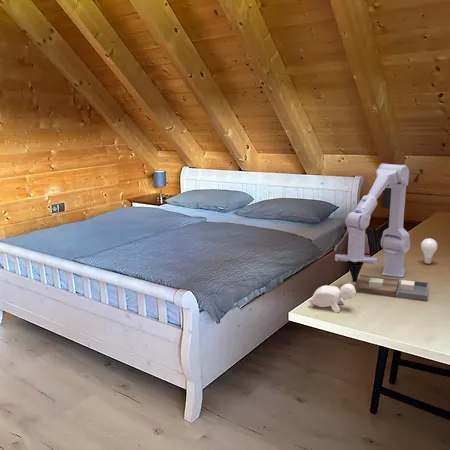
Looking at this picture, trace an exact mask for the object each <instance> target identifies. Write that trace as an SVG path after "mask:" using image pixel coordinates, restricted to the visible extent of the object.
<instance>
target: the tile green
mask: <svg viewBox="0 0 450 450" xmlns="http://www.w3.org/2000/svg"><path fill="white" fill-rule="evenodd" d="M383 283H384V279H379V278H370V280H369V287H374V288H382V287H383Z"/></svg>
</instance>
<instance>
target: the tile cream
mask: <svg viewBox="0 0 450 450" xmlns="http://www.w3.org/2000/svg"><path fill="white" fill-rule="evenodd" d="M406 280H407V279H402V280H400V282H401V284H400V289H403V290H411V291H414V284H415V281H416V280H411V281H406Z"/></svg>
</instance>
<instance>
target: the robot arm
mask: <svg viewBox="0 0 450 450" xmlns="http://www.w3.org/2000/svg"><path fill="white" fill-rule="evenodd" d="M375 173H376V178H375V181H374V182H373V185H371V188H370V190H369V192H368V194H366V195H362V198H361V199H360V201H359V202H358V203H357V205H356V207H355V208H354V210H353V211H350V212H349V213H348V214H347V215H346V219H345V226H346V231H347V233H348V241H347V242H348V243H347V254H338V253H337V254H335V255H334V261H336V262H339V261H340V262H347V268H348V270H349V272H350V275H351V279H352V283H357V281H358V279H359V276H360V275H359V274H360V272H361V270H362V267H363V265H364V264H370V265H371V264H372V265H374V266H377V263H378V258H376V257H371V256H365V247H366V245H365V244H366V242H365V241H366V229H367V228H368V227H369V225H370V222H371V221H370V220H371V217H372V216H371V215H372V213H373V212H374V211H375V208H376V207H377V205H378V200H377V199H378V198H379V197H380V196H381V195H382V193H383V191H384V190H385V189H386V188H387V187H388V186H389V187H390V189H391V190H390V191H391V193H390V203H389V204H390V205H389V217H388V219H389V220H388V221H389V222H388V227H387V228H386V229H384V230H383V232H382V235H381V238H380V246H381V248H382V250H383V252H384V266H383V271H382V273H381V276H389V277H395V278H396V277H397V278H404V277H405V272H406V268H405V267H404V265H405V254H407V252H408V251H409V250H410V247H411V239H410V233H409V232H408V231H407V230H406V229H405V228H404V216H405V208H406V207H405V204H406V195H407V194H406V193H407V192H406V191H407V186H409V179H410V178H409V177H410V169H409V168H408V166H407V165H406V164H391V163H383V162H382V163H380V165H379V166H378V168H377V169H376V171H375Z"/></svg>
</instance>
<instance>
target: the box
mask: <svg viewBox="0 0 450 450" xmlns="http://www.w3.org/2000/svg"><path fill="white" fill-rule="evenodd" d="M401 280H403V279H401ZM401 280H400V281H399V286H398V289H397V293H396V297H395V298H398V299H407V300H414V301H421V302H428V296H429V287H430V282H426V281H419V280H418V281H417V280H414V281H415V284H414V291H411V290H403V289H400V284H401ZM405 280H406V281H412V280H411V279H409V280H408V279H405Z"/></svg>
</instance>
